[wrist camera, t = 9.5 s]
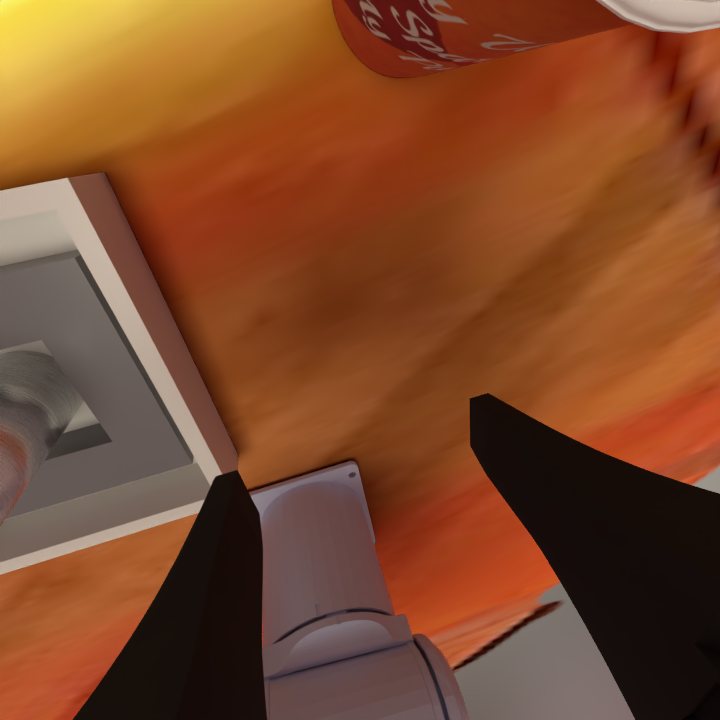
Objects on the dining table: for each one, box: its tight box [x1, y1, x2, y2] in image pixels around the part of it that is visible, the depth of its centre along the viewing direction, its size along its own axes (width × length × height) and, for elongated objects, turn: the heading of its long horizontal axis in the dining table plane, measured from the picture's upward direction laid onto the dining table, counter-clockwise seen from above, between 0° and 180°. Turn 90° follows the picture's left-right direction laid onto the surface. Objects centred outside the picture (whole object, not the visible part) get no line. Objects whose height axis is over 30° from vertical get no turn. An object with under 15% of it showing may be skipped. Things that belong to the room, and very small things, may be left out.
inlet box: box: [0, 172, 238, 575], centre depth 17 cm, size 16×14×4 cm
